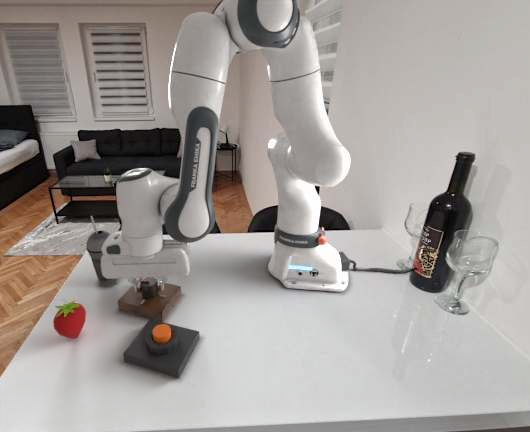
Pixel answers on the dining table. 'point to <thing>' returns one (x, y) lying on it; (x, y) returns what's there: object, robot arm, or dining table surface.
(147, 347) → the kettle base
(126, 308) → the panel
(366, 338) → the dining table surface
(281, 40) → the robot arm
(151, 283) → the temp dial
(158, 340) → the orange button cap
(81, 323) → the strawberry
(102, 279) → the beverage cup
